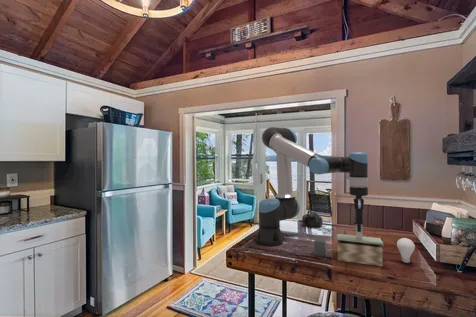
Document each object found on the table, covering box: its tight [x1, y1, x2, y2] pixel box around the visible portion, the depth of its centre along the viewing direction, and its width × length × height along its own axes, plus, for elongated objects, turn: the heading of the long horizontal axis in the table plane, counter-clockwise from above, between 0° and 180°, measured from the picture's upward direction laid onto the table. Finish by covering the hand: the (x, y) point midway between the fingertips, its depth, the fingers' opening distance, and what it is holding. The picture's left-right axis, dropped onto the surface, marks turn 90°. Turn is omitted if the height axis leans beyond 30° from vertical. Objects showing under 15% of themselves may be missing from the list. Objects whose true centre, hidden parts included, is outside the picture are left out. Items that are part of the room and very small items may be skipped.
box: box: [337, 240, 383, 267], centre depth 118 cm, size 18×11×8 cm, turn 67°
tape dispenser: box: [362, 232, 384, 248], centre depth 133 cm, size 18×5×20 cm
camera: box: [301, 211, 323, 229], centre depth 170 cm, size 13×10×10 cm
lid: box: [336, 233, 385, 246], centre depth 117 cm, size 19×11×1 cm, turn 67°
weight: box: [313, 237, 327, 258], centre depth 123 cm, size 5×5×7 cm
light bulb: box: [396, 237, 416, 264], centre depth 112 cm, size 7×7×11 cm
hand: (359, 238), depth 115 cm, fingers closed
